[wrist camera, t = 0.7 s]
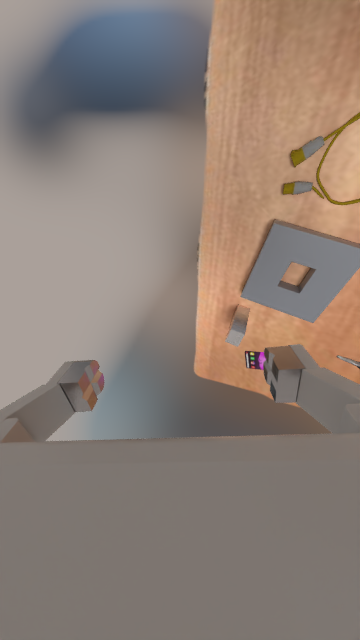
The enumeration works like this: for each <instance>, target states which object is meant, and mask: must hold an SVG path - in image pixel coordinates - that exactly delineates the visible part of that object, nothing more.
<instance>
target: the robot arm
mask: <svg viewBox="0 0 360 640" xmlns="http://www.w3.org/2000/svg"><path fill="white" fill-rule="evenodd" d="M264 356H265V358H266V360H265V361H264V363H263V370H264V376H265V380H266V382H267V383H268V384H269V385H270V392H271V394H272V396H273V399H274V401H275V403H291V402H297V404H298V405H299V406H300V407H301V408H303V409H304V410H305V411H306V412H307V413H309V414H310V415H311V416H313V418H315V419H316V420H317V421H319V423H321V424H322V425H323V426H324V427H326V428H327V429H328V430H329V431H330V432H332V433H333V434H300V435H265V436H230V437H229V436H227V437H191V438H190V437H189V438H153V439H117V440H81V441H45V440H46V439H48V438H49V437H50V436H51V435H52V434H53V433H54V432H55V431H56V430H57V429H58V428H59V427H60V426H61V425H63V424H64V423H65V422H66V421H67V420H68V419H69V418H70V417H71V416H72V415H73V414H74V413H75V412H84V411H92V409H93V407H94V405H95V404H96V402H97V400H98V399H97V395H98V394H100V393H101V391H102V390H103V387H104V376H103V374H102V373H101V372H100V371H99V370H98V369H99V364H98V362H97V361H95V360H87V361H71V362H65V363H64V364H63V365H62V366H61V367H60V369H59V370H58V371H57V372H56V373H55V374H54V376H53V377H52V378H51V379H50V380H49V382H48V383H47V384H46V385H42V386H40V387H38V388H37V389H35V390H33V391H32V392H30V393H28V394H27V395H25V396H23V397H21V398H20V399H18V400H16V401H15V402H13V403H11V404H10V405H8V406H6V407H5V408H3V409H1V410H0V640H360V385H359V384H357V383H355V382H353V381H351V380H349V379H347V378H345V377H343V376H341V375H339V374H336V373H334V372H332V371H330V370H328V369H326V368H320V367H319V366H318V364H317V363H316V362H315V361H314V359H313V358H312V357H311V356H310V354H309V353H308V352H307V351H306V349H305V348H304V347H303V346H302V345H300V344H297V345H288V346H280V347H267V348H265V350H264Z"/></svg>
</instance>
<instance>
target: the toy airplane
mask: <svg viewBox="0 0 360 640" xmlns="http://www.w3.org/2000/svg"><path fill="white" fill-rule="evenodd" d="M337 357H338V358H340V359H342V360H344V361H346V362H348V363H351V364H353V365H355V366H357V367H358V368H359V369H360V362H357V361H354V360H352V359H349V358H346V357H342V356H337Z"/></svg>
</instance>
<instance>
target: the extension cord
mask: <svg viewBox="0 0 360 640" xmlns="http://www.w3.org/2000/svg"><path fill="white" fill-rule="evenodd" d="M359 118H360V113H358V114H357V115H355V116H354V117H353V118H352V119H350V120H349V121H348V122H347V123H346V124H345V125H343V126H342V127H340V128H339V129H337V130H336V131H334V132H333V133H331V134H330V135H328V136H327V137H325V138H324V139H323V137H322V136H321V137H320V136H319V137H320V138H319V137H317V138H316V139H315V140H313V141H310V142H309V143H308V144H306V145H304V146H303V147H301V148H300V149H299V150H292V152H291V158H292V161H293V164H294V167H296V165H298V164H300V163H301V162H303V161H304V160H305V159H307V158H308V157H310V156H311V155H312V154H314V153H315V152H316V151H317V150H318V149H320V148H321V147H322V146H323V145H324V141H325V140H327V139H328V138H330V137H331V136H333V135H334V134H336V133H337V132H338V133H337V134H336V136H335V137H334V138H333V140H332V141H331V143H330V145H329V146H328V148H327V150H326V152H325V154H324V156H323V158H322V160H321V162H320V164H319V167H318V170H317V182H318V184H319V186H320V188H321V190H322V191H323V193H324V194H325V196H326V197H327V199H328V200H329V201H330V202H331V203H333V204H337V205H348V204H354V203H358V202H360V199H357V200H352V201H347V202H337V201H334V200H332V199H331V198H330V197H329V195H328V194H327V192H326V191H325V189H324V187H323V186H322V184H321V182H320V179H319V172H320V168H321V166H322V163H323V161H324V159H325V157H326V155H327V153H328V151H329V149H330V147H331V146H332V144H333V142H334V141H335V140H336V138H337V137H338V136H339V134H340V133H341V132H342V131H343V130H344V129H345V127H347V126H348V125H349V124H351V123H353V122H354V121H356V120H358V119H359ZM312 185H313V182H312V183H310V182H300V181H298V182H294V183H287V184H284V191H283V194H292V195H293V194H300V193H304V192H308V191H311V189H313V190H314V191H315V192H316V193H317V194H318V195H319V196H320V197H321V198H323V199H324V197H323V196H322V194H321V193H320V192H319V191H318V190H317V189H316V188H315V187H314V186H312Z"/></svg>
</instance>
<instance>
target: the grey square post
mask: <svg viewBox="0 0 360 640" xmlns="http://www.w3.org/2000/svg"><path fill="white" fill-rule="evenodd" d="M249 312H250V308H247V307H244V306H242V305H239V304H238V306H237V308H236V311H235V313H234V315H233V318H232V321H231V324H230V327H229V331H228V334H227V337H226V340H225V342H228V343H230V344H233V345H235V346H239V344H240V342H241V340H242V338H243V337H244V335H245V331H246V326H247V321H248V317H249Z"/></svg>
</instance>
